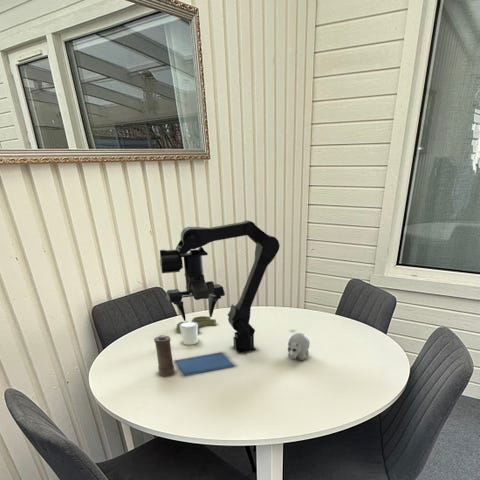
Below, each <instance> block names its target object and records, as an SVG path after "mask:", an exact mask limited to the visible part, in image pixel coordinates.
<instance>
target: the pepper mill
mask: <svg viewBox="0 0 480 480" xmlns="http://www.w3.org/2000/svg"><path fill="white" fill-rule="evenodd" d="M153 342H154V343H155V352H156V357H157V364H158V366H157V369H158V374H159V376H162V377H170V376H173V375H174V374H175V365H174V361H173V354H172V353H173V352H172V346H171V336H169V335H165V334H161V335H158V336H156V337H154V339H153Z"/></svg>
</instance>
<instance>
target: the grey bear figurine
mask: <svg viewBox="0 0 480 480" xmlns="http://www.w3.org/2000/svg"><path fill="white" fill-rule="evenodd" d="M310 345H311V343H310V339H309V337H308V336H307V335H306V334H305V333H302V332H296V333H294V334H292V335H291V336H290V338H289V339H288V343H287V352H288V354H287V356H288V359H291V360H295V359H298V360H299V361H304V360H307V359H306V358H307V357H309V354H310V352H309V349H310Z"/></svg>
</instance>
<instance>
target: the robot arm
mask: <svg viewBox="0 0 480 480" xmlns="http://www.w3.org/2000/svg"><path fill="white" fill-rule="evenodd" d="M245 236H247V237H248V238H249V239H250V240H251V241H252V242H254V243H255V244H256V246H255V249H254V261H253V263H252V266H251V269H250V271H249V275H248V277H247V278H246V279H247V280H246V281H245V285H244V287H243V290H242V292H241V295H240V298H239V301H238V302H237V303H236V304H235V305H234V304H231V305H230V309H229V311H228V313H227V316H228V319H227V320H228V324H229V325H230V326H231V327H232V329H233V330H234V332H233V333H234V336H233V338H232V339H233V345H232V347H233V349H234V350H235V351H237V352H238V353H239V354H242V353H247V352H255V351H256V347H255V332H256V330H255V328H254V327H253V326H252V325H251V324H250V319H251V311H252V310H251V308H252V305H253V303H254V300H255V297H256V295H257V292H258V290H259V287H260V285H261V283H262V280H263V278H264V275H265V273H266V270H267V268H268V266H269V265H270V264H271V263H272V262H273V260H274V259H275V257H276V256H277V254H278V252H279V250H280V247H281V245H280V242H279V240H278V238H277V237H275V236H272V235H270V234H268V233H266V232H265V231H263V230H262V229H261V228H259V227H258V226H257V225H256V223H254V221H251V220H244V221H241V222H240V221H239V222H234V223H228V224H222V225H216V226H210V227H202V226H186V227H184V228H183V229H182V231H181V233H180V240H179V242H178V244H177V245H176V246H175V249H159V267H160V272H161V274H173V273H180V272H181V271H182V269H183V268H184V277H185V290H184V291H181V290H179V289H178V288H174V289H167V290H166V292H165V297H166V300H167V301H168V302H169V303H172V304H173V305H176V307H177V309H178V311H179V314H180V316H181V317H182V319H183V322H187V321H186V319H187V318H186V313H185V308H184V301H183V298H192V297H193V299H194V300H196V301H200V300H204V299H205V300H207V299H208V302H207V303H208V314H209V317H210V318H212V317H213V315H214V310H215V306H216V304H217V302H218V301H219V300H221V299H222V297H224V296H226V290H225V289H226V288H225V287H224V286H223V285H221V284H220V283H216V284H215V282H214V281H213V280H211V281H210V280H209V281H206V280H205V275H204V269H203V257H204V256H208V255H209V253H208V252H207V251H206V250H205V249H204V248H203V247H204V246H206V245H208V244H210V243H213V242H217V241H222V240H223V241H224V240H229V239H234V238H239V237H245Z"/></svg>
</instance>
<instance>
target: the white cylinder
mask: <svg viewBox="0 0 480 480" xmlns="http://www.w3.org/2000/svg"><path fill="white" fill-rule="evenodd" d="M183 322H184V323H181V324H180V325H179V326H180V331H181V332H180V336H181V340H182V344H184V345H188V346H189V345H191V346H192V345H195V344H197V343H198V341H199V337H198V335H199V334H198V324H197V322H192V321H188V322H187V321H183Z"/></svg>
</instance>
